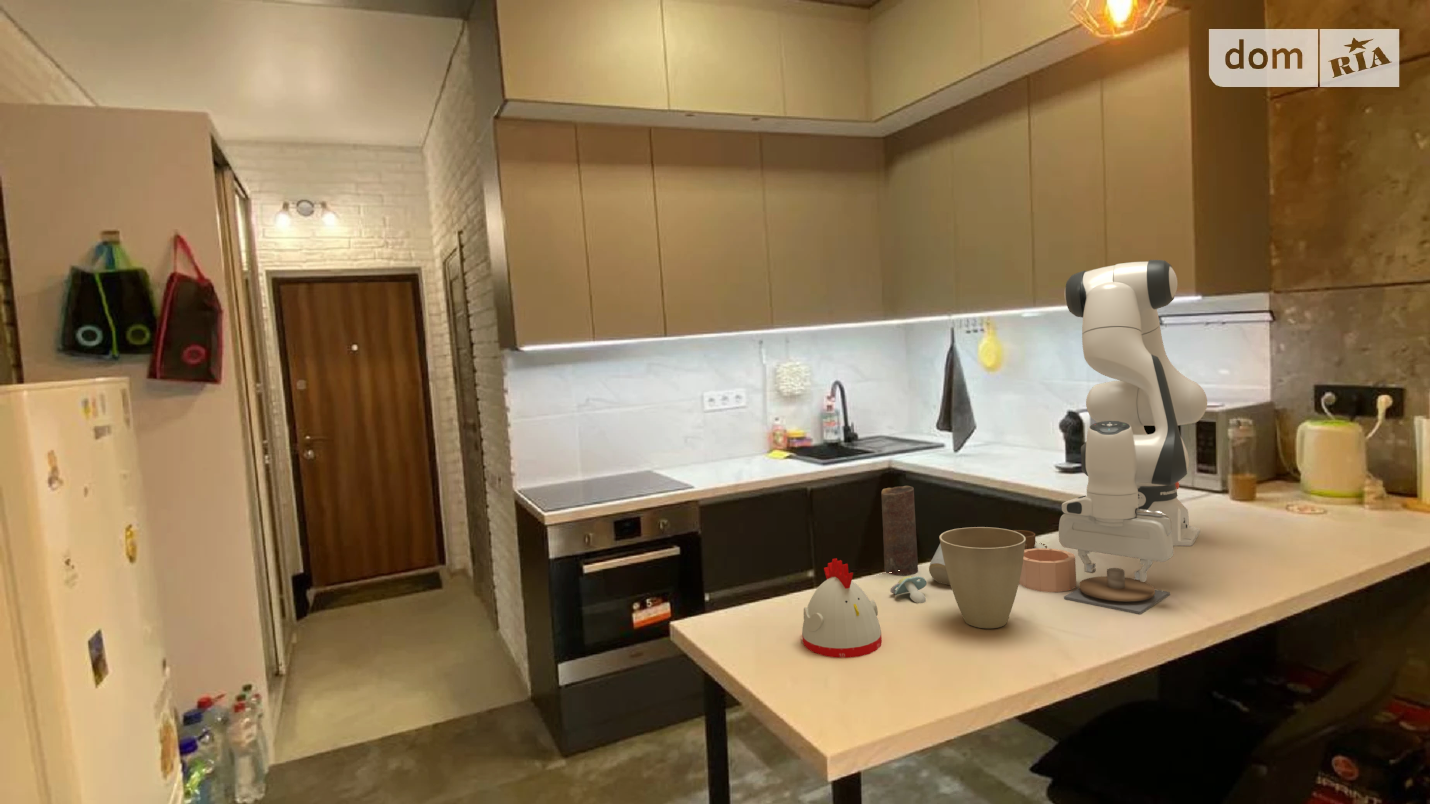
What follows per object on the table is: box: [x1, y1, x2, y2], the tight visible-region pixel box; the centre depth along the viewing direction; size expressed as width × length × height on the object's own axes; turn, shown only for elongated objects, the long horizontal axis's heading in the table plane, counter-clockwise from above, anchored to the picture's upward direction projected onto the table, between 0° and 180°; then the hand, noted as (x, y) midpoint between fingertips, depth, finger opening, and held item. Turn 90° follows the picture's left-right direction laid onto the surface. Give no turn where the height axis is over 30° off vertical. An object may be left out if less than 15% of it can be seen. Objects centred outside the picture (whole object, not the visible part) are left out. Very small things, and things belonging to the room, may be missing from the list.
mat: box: [1063, 587, 1171, 615], centre depth 150 cm, size 14×14×1 cm
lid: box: [1078, 567, 1156, 601], centre depth 150 cm, size 13×13×5 cm
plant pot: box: [938, 526, 1026, 629], centre depth 141 cm, size 15×15×16 cm
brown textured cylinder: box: [881, 485, 919, 577], centre depth 172 cm, size 8×7×20 cm
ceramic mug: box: [928, 543, 951, 586], centre depth 163 cm, size 11×8×8 cm
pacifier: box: [889, 575, 927, 604], centre depth 156 cm, size 7×6×6 cm
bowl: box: [1019, 547, 1077, 593], centre depth 161 cm, size 11×11×6 cm
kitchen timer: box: [801, 557, 883, 659], centre depth 137 cm, size 14×14×15 cm
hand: (1114, 576), depth 150 cm, fingers open, 8 cm apart
